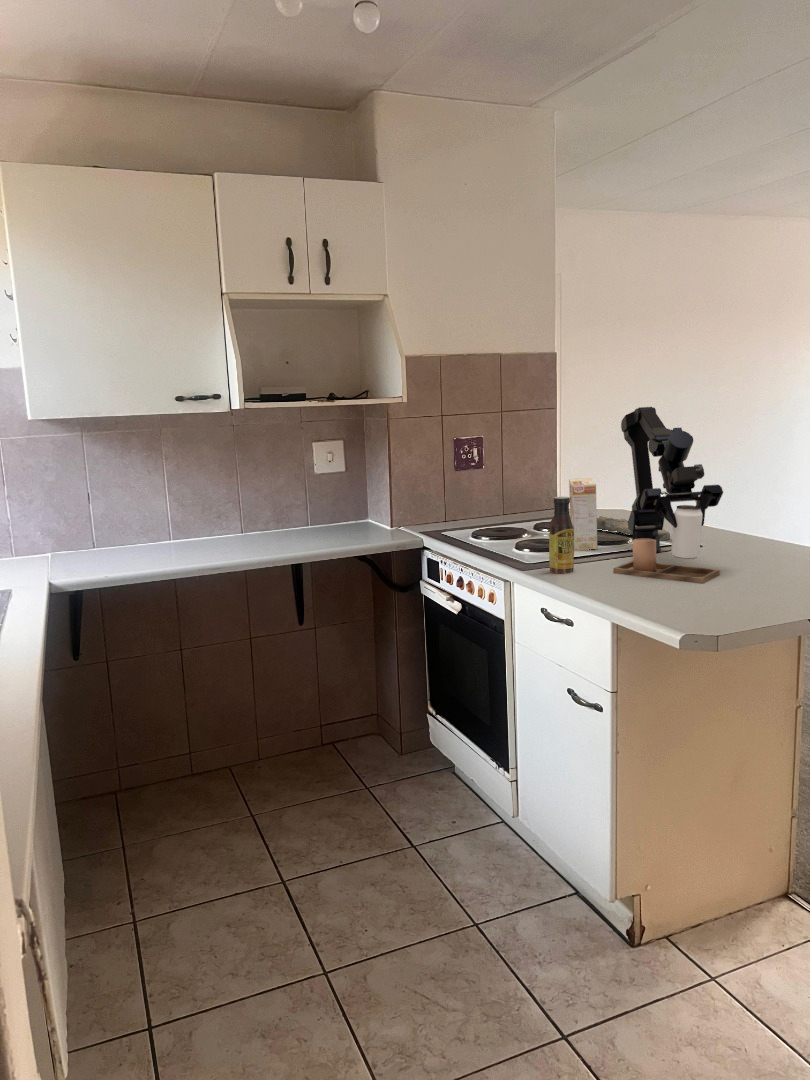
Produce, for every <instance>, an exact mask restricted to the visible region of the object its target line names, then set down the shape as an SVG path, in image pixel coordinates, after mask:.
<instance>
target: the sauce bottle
mask: <svg viewBox="0 0 810 1080" xmlns="http://www.w3.org/2000/svg"><path fill="white" fill-rule="evenodd" d="M553 505H554V506H553V507H554V508H553V509H554V510H553V517H552V518H551V520H550V522H549V534H548V535H549V538H548V539H549V540H548V542H549V545H548V546H549V547H548V548H549V550H548V551H549V553H548V554H549V556H548V558H549V561H548V562H549V563H548V565H549V573H550V574H555V575H565V574H571V573H573V572H574V567H575V559H574V558H575V551H574V528H573V525H572V522H571V519H570V496H554V497H553Z"/></svg>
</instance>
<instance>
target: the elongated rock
mask: <svg viewBox="0 0 810 1080" xmlns="http://www.w3.org/2000/svg"><path fill="white" fill-rule="evenodd" d="M635 527H636V525H635ZM597 529H602V530H608V531H617V532H622V533H627V534H630V535H633V532H632V531H630V530H629V529H628V520H627V519H626V518H613V517H605V516H600V515H599V516H598V517H597ZM622 533H621V534H622ZM658 535H659V536H660V542H662V541H661V540H666V541H669V540H670V539H671V533H670V532H669V531H667V530H666V529H664V528H663V530H658ZM668 539H669V540H668Z"/></svg>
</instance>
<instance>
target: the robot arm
mask: <svg viewBox="0 0 810 1080" xmlns="http://www.w3.org/2000/svg"><path fill="white" fill-rule="evenodd" d="M620 428H621V429H620V430H621V432H622V433H623V437H624V440H625V442H626V443H627V444H628V445H629V446H630V449H631V456H632V458H631V459H632V467H633V468H632V469H633V476H634V486H635V494H636V496H635V499H634V501H633V503H632V505H631V511H630V514H629V518H628V520H627V521H628V529H629V530H630V531H632V532H633V536H632V541H633V540H634V539H639V538H650V539H655V540H656V553H657V552H659V551H661V550H662V549H661V547H660V544H661V543H660V542H661V541H660V536H659V535H658V530H663V529H664V523H665V520H666V521H667V522H668V523H669V524H670V525H671V526H672V528H673V527H674V528H676V527H677V521H676V518H675V515H674V513H675V511H674V510H673V507H672V503H680V502H694V501H695V504H696V505H695V506H698V507H701V512H702V527H703V526H704V524H705V517H706V516H705V515H706V510H707V509H708V508H711V507H716V506H718V505H719V503H720V501H721V499H722V496H723V494H724V490H723V487H722V486H721V485H720V484H707V485H706V484H705V485H703V486H702V489H701V491H693V489H695V487H696V485H695V482H696V481H698V480H701V479H703V477H705V469H704V466H703V464H702V463H701V464H700V463H699V464H694V465H693V466H685V464H684V462H685V461H687V459H688V456H689V454H690V451H691V448H692V446H693V443H694V437H693V435H691V434H690V433H689V432H687V431H686V430H683V429H682V427H673V428H672V429H670V428H667V427H666V426H665V425H664V423H663V421H662V419H661V418H660V417H659V416H658V414H657V410H656V407H653V406H644V407H643V406H642V407H640V406H639V407H637V408H635V409H634V411H632V412H628V413H627V414H625V415H624V416H623V418H622V420H621V422H620ZM650 454H651V455H652V456H653V458H654V457H655V458H656V457H659V459H658V463H657V464H658V472H660V474H661V477H662V481H663V484H662V488H663V489H665V491H662V489H661V488H659V487H656V488H654V486H653V485H654V484H653V478H652V469H651V461H650ZM635 525H636V527H635ZM629 552H630V553H633V548H632V549H630V550H629Z"/></svg>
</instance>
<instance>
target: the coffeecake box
mask: <svg viewBox="0 0 810 1080" xmlns="http://www.w3.org/2000/svg"><path fill="white" fill-rule="evenodd" d="M568 483H569V484H568V485H569V486H568V488H569V491H568V492H569V498H570V503H569V515H570V519H571V522H572V525H573V528H574V549H577V550H581V551H592V550H591V549H597V550H598V530H597V518H598V515H597V512H598V511H597V510H598V509H597V484H596V482H595V481H594V480H593V478H592V477H591V478H588V477H587V478H570V479H569V480H568ZM589 549H590V550H589Z"/></svg>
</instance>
